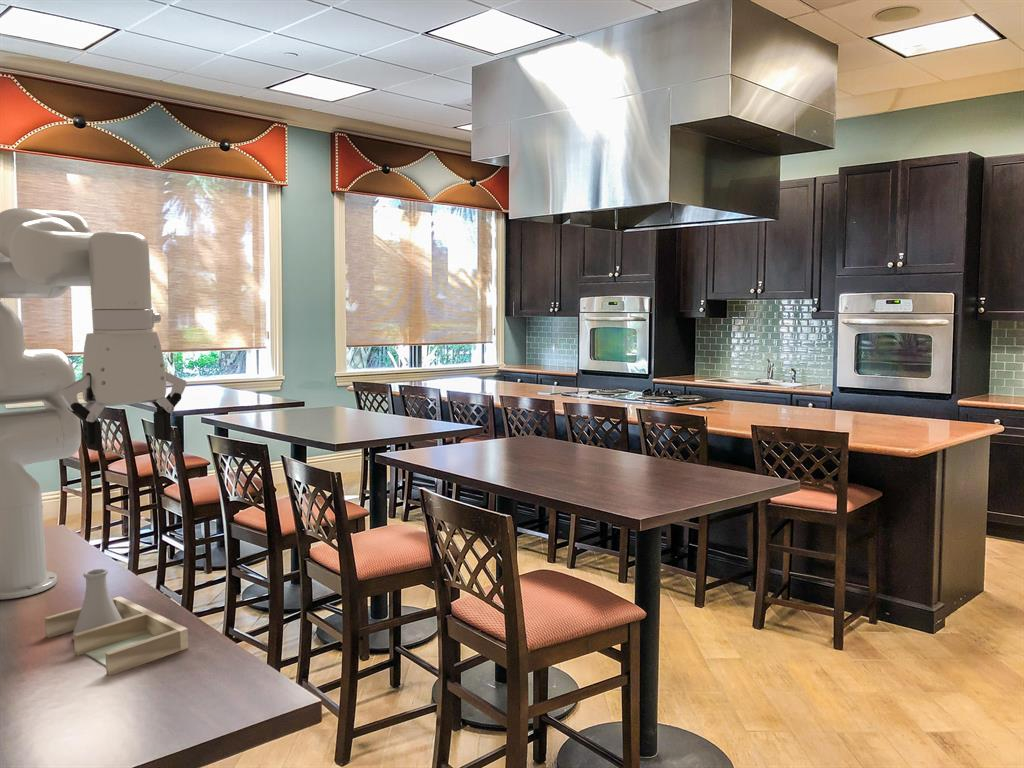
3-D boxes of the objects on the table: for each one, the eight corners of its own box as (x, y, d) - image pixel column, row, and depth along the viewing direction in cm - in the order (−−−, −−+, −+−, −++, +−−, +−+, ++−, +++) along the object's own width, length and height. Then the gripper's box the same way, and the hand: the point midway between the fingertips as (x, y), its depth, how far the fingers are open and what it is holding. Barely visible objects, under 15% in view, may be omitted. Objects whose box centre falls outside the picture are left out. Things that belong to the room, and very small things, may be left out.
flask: (104, 646, 124) (100, 581, 123) (62, 642, 126) (57, 578, 125) (135, 627, 131) (132, 565, 130) (95, 623, 133) (91, 562, 132)
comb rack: (45, 636, 128) (44, 617, 127) (121, 613, 137) (120, 596, 136) (109, 675, 114) (108, 654, 114) (188, 647, 123) (187, 628, 123)
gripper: (168, 320, 124) (173, 433, 126) (45, 324, 111) (53, 450, 113) (195, 321, 119) (200, 439, 121) (69, 325, 106) (77, 457, 108)
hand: (129, 444), depth 117 cm, fingers open, 9 cm apart
